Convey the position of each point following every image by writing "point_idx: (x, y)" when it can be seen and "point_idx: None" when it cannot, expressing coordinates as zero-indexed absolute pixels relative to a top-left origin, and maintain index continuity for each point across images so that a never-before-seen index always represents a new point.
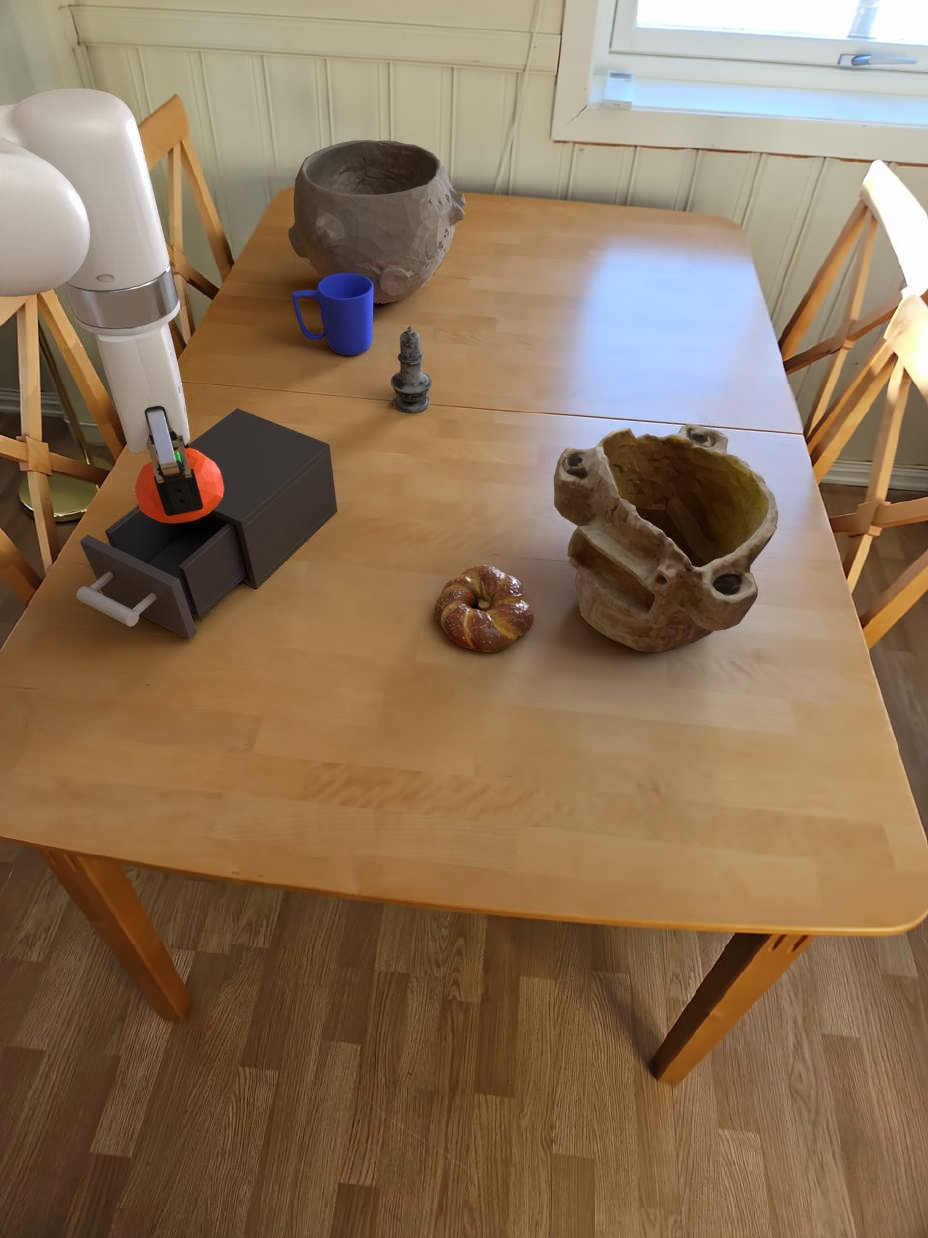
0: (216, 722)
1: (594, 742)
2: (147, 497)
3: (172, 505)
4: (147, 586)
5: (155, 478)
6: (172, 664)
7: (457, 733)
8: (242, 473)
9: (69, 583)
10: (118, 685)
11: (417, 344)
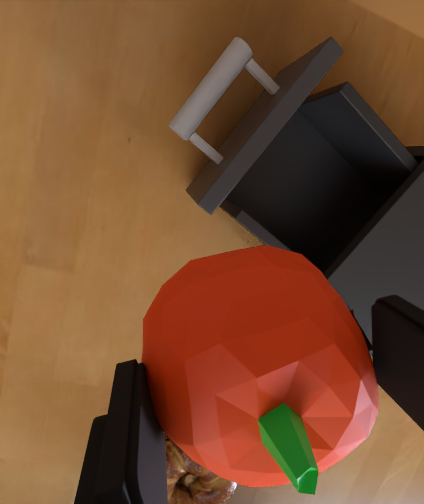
0: (66, 223)
1: None
2: (170, 328)
3: (91, 430)
4: (229, 154)
5: (101, 499)
6: (159, 167)
7: (42, 445)
8: (409, 297)
9: (320, 16)
10: (132, 100)
11: None
